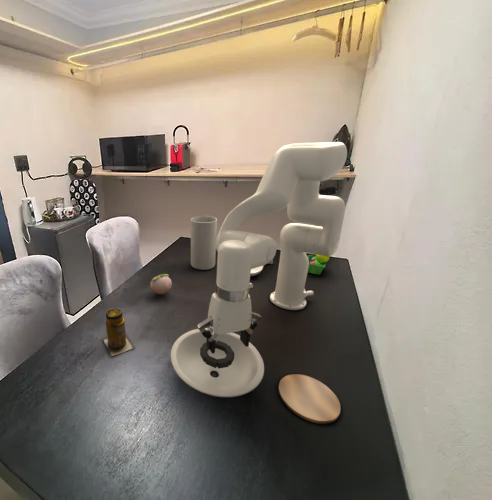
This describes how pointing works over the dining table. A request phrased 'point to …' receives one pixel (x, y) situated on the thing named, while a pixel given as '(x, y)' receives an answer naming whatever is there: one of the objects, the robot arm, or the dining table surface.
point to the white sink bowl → (230, 378)
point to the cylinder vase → (203, 242)
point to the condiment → (116, 333)
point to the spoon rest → (258, 269)
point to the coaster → (309, 398)
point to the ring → (213, 361)
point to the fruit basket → (317, 263)
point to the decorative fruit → (161, 284)
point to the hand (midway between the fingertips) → (227, 346)
